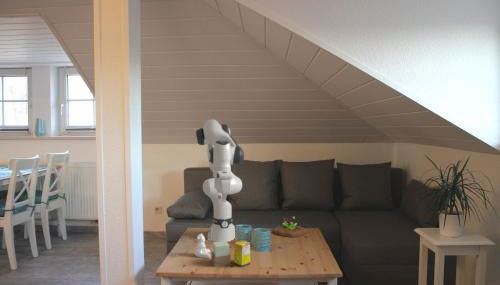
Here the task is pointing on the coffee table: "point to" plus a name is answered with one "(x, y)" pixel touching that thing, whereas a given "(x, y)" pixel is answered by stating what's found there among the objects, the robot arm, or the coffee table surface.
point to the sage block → (221, 248)
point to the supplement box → (242, 253)
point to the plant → (289, 229)
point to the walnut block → (220, 260)
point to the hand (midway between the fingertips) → (221, 200)
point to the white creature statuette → (201, 248)
